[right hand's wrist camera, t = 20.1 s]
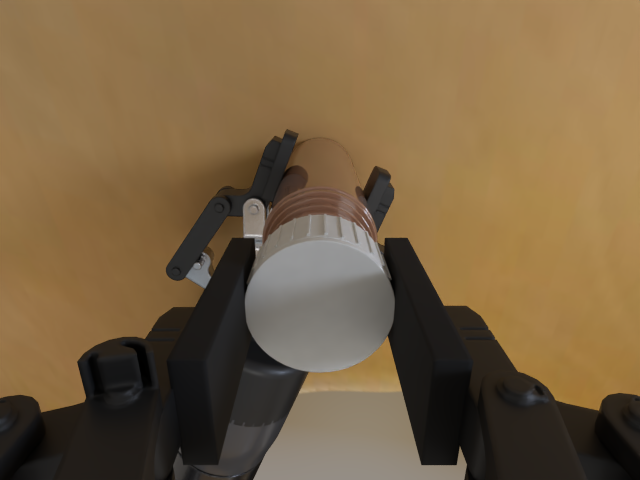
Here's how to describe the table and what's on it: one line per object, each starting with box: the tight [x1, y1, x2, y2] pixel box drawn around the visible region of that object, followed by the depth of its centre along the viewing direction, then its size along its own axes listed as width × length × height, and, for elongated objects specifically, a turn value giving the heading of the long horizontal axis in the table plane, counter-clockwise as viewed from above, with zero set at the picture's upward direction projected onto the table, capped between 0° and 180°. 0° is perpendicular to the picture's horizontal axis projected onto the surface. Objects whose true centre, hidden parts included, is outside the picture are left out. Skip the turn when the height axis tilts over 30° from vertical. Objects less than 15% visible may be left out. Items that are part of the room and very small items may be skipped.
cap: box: [245, 214, 395, 372], centre depth 13 cm, size 4×4×2 cm
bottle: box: [262, 138, 377, 245], centre depth 22 cm, size 5×5×19 cm
